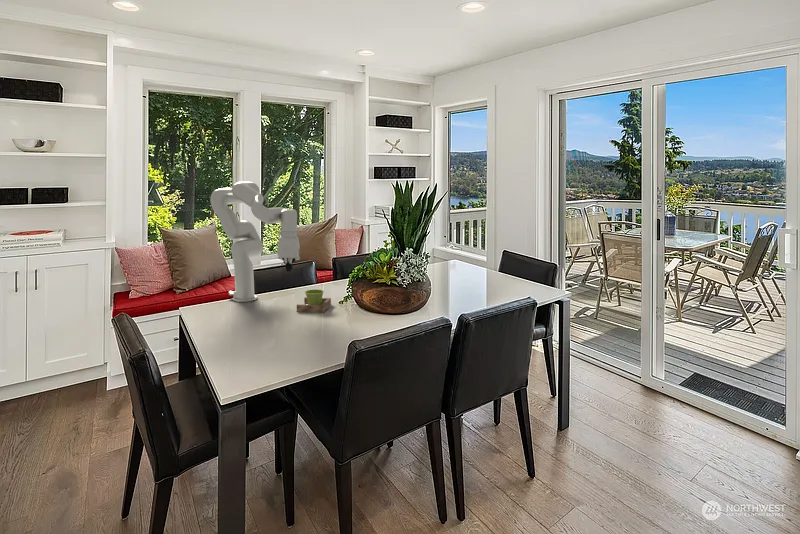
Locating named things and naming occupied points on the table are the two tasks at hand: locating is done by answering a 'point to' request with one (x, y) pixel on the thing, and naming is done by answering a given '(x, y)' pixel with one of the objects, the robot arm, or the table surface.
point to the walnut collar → (314, 306)
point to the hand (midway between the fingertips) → (289, 271)
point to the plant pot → (314, 297)
